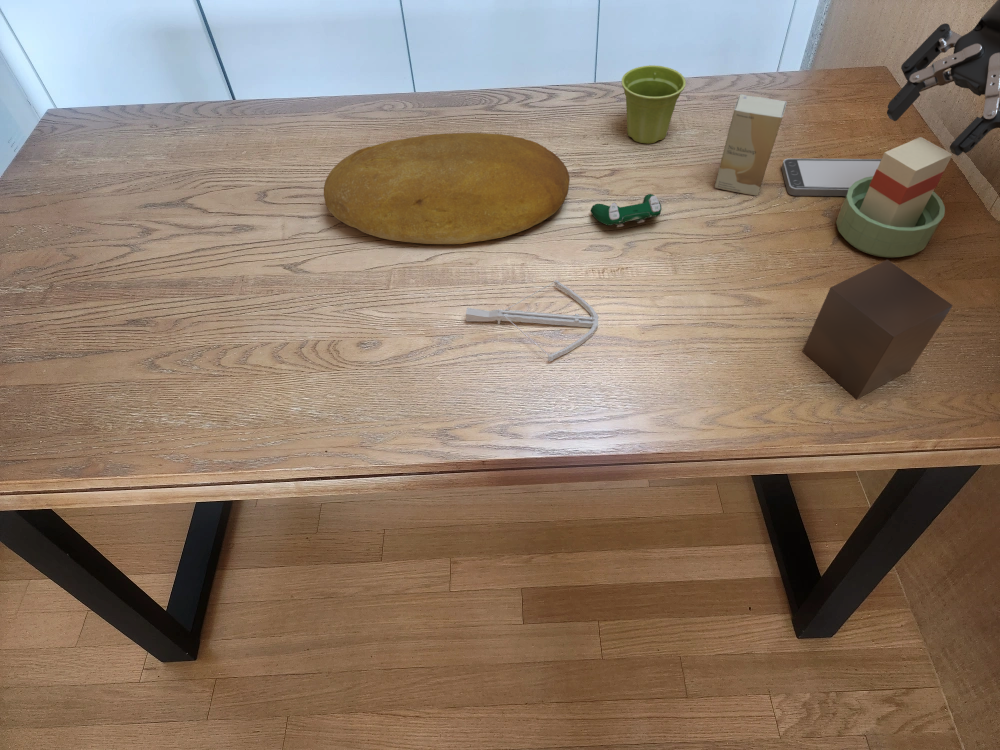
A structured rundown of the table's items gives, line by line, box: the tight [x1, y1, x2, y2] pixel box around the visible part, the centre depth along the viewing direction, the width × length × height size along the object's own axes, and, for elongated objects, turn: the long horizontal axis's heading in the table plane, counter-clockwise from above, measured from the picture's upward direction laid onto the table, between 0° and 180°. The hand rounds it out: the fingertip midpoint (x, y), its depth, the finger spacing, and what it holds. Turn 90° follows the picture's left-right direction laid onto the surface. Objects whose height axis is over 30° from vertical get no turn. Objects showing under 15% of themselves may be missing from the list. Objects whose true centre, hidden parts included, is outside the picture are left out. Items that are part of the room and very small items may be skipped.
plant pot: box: [621, 64, 687, 145], centre depth 102 cm, size 9×9×9 cm
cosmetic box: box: [714, 93, 788, 197], centre depth 91 cm, size 6×4×12 cm
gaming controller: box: [590, 193, 662, 228], centre depth 91 cm, size 9×4×6 cm
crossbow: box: [465, 280, 599, 362], centre depth 80 cm, size 16×13×2 cm
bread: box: [323, 132, 570, 245], centre depth 92 cm, size 18×35×10 cm, turn 93°
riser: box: [802, 259, 953, 400], centre depth 70 cm, size 8×8×10 cm
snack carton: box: [859, 136, 954, 228], centre depth 82 cm, size 5×6×11 cm
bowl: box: [835, 176, 946, 259], centre depth 85 cm, size 11×11×5 cm
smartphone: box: [780, 158, 882, 197], centre depth 94 cm, size 7×1×15 cm
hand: (921, 134), depth 75 cm, fingers open, 8 cm apart
